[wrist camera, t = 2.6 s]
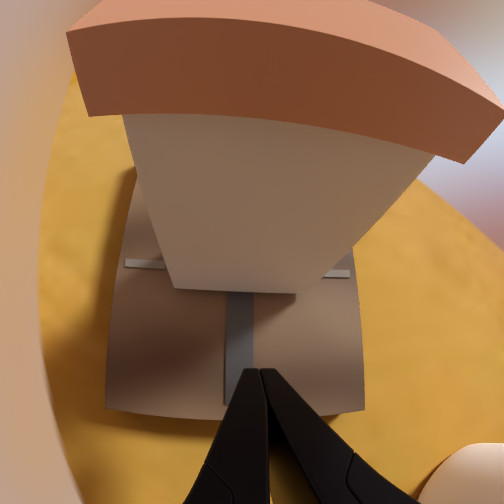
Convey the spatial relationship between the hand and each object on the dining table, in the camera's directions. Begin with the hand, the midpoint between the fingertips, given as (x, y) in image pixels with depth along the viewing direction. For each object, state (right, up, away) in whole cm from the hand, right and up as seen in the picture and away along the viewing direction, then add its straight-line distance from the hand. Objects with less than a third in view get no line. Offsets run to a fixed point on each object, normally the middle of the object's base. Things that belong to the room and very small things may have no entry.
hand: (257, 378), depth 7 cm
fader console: (-1, +2, +9) cm, 9 cm away
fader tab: (-1, +3, +6) cm, 7 cm away
